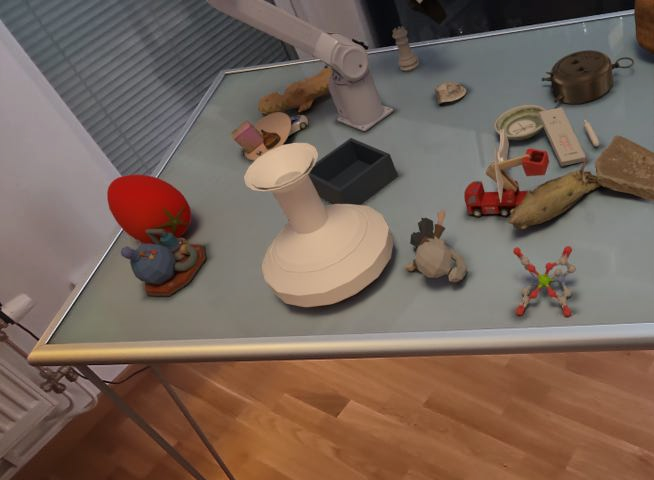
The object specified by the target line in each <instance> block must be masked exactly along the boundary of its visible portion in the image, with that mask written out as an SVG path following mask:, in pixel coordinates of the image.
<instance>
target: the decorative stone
mask: <svg viewBox="0 0 654 480" xmlns="http://www.w3.org/2000/svg"><path fill="white" fill-rule="evenodd" d="M594 168H595V174H596V176H597V181H598V183H599V184H600V185H601V187H603V188H608V189H610V190H612V191H616V192H621V193H626V194H631V195H634V196H636V197H639V198H641V199H644V200H649V201H652V202H654V152H653V151H652V150H649V149H647V147H644V146H641V144H638V143H636V142H634V141H632V140H631V139H628V138H626V137H623V136H621V135H618V134H617V135H615V136H614V137H613V138H612V140H611V142H610V143H609V144H608V146H607V147H606V148H605V149H603V150H602V151H601V152H600V155H598V157H597V159H596V160H595V162H594Z"/></svg>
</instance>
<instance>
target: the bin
mask: <svg viewBox="0 0 654 480" xmlns="http://www.w3.org/2000/svg"><path fill="white" fill-rule="evenodd" d="M308 175H309V177H310V179H311V181H312V183H313V185H314V187H315V189H316V191H317V193H318V195H319V197H320V199H323V200H324V201H326V202H328V203H331V205H333V204H353V205H363V204H364V203H365V202H366V201H368V200H369V199H370V198H372V197H373V196H374V195H375V194H377V193H378V192H379V191H381V190H383V188H385V187H386V186H387V185H389V184H391V182H393V180H395V179H396V178H398V177H399V175H398V172H397V170H396V166H395V164H394V161H393V159H392V156H391V154H390V153H389V152H386V151H383V150H381V149H379V148H376V147H374V146H372V145H369V144H367V143H364V142H362V141H360V140H358V139H355V138H353V137H350V138H349V139H347V140H346V141H344V142H343V143H341V144H340V145H339V146H337V147H336V148H334V149H333V150H331V151H330V152H329V153H327V154H325V156H322V158H320V159H319V160H318V161H316V163H315V165H314V166H313V168H312V170H311V171H310V173H309V174H308Z"/></svg>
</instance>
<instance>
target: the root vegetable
mask: <svg viewBox="0 0 654 480" xmlns="http://www.w3.org/2000/svg"><path fill="white" fill-rule="evenodd" d="M582 163H583V164H582V165H581V167H580V169H576V170H573V171H569V172H568V173H567V174H565V175H563V176H559V177H556V178H552V179H549V180H546V181H545V182H543V183H541V184H539V185H538V186H537V187H536V188H534V189H533V190H530V189H529V190H527V191H528V192H527V193H526V195H525V197H524V200H523V201H522V202H521V204H519V205H518V206H516V208H514V209H512V210H511V211H510V212H509V214H510V215H509V220H507V223H508V224H510V225H512V226H513V228H514V229H515V228H516V229H519V230H524V229H527V228H528V227H531V226H533V225H540V224H543V223H545V222H547V221H550V220H552V219H553V218H555V217H557V216H559V215H561V214H563V213H565V212H566V211H568V210H569V209H570V208H571V207H572V206H573V205H575V204H576V203H577V202H579V200H581V198H582V197H584V196H585V194H588V193H590V192H591V191H594V190H596V189H597V188H600V187H602V185H600V184H599V183H598V181H597V175H594V174H592V172H591V171H585V167H586V166H587V164H588V163H589V160H587V159H586V160H585V161H584V162H582Z"/></svg>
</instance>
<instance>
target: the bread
mask: <svg viewBox="0 0 654 480" xmlns="http://www.w3.org/2000/svg"><path fill="white" fill-rule="evenodd" d="M633 18H634V22H635V26H634V27H635V39H636V42H637V44H638V45H639V46H640V47H641V48H642V49H643V50H645V52H647V53H649V54H650V55H652V56H654V0H634V10H633Z"/></svg>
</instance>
